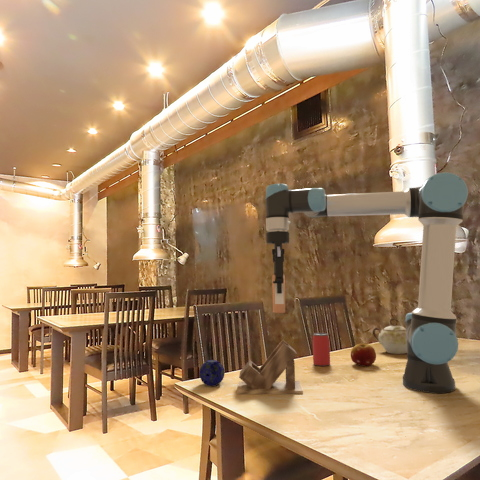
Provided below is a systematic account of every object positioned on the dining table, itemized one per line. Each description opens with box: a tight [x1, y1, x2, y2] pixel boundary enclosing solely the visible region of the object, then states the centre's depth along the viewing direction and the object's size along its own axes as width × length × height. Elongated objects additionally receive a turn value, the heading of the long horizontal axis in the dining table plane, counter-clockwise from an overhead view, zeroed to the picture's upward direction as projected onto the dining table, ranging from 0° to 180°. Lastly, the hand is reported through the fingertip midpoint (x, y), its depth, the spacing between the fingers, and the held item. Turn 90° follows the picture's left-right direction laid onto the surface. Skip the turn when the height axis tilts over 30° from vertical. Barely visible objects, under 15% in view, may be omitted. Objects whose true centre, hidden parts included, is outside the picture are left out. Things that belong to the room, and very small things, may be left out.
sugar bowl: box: [372, 317, 407, 355], centre depth 181 cm, size 20×15×15 cm
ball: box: [199, 359, 225, 387], centre depth 135 cm, size 8×8×8 cm
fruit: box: [350, 343, 377, 367], centre depth 158 cm, size 10×9×8 cm
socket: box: [236, 339, 304, 395], centre depth 129 cm, size 20×11×16 cm, turn 88°
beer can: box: [312, 332, 331, 367], centre depth 160 cm, size 7×7×12 cm
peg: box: [271, 274, 286, 314], centre depth 131 cm, size 4×4×12 cm
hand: (279, 303), depth 131 cm, fingers closed on peg, 4 cm apart
